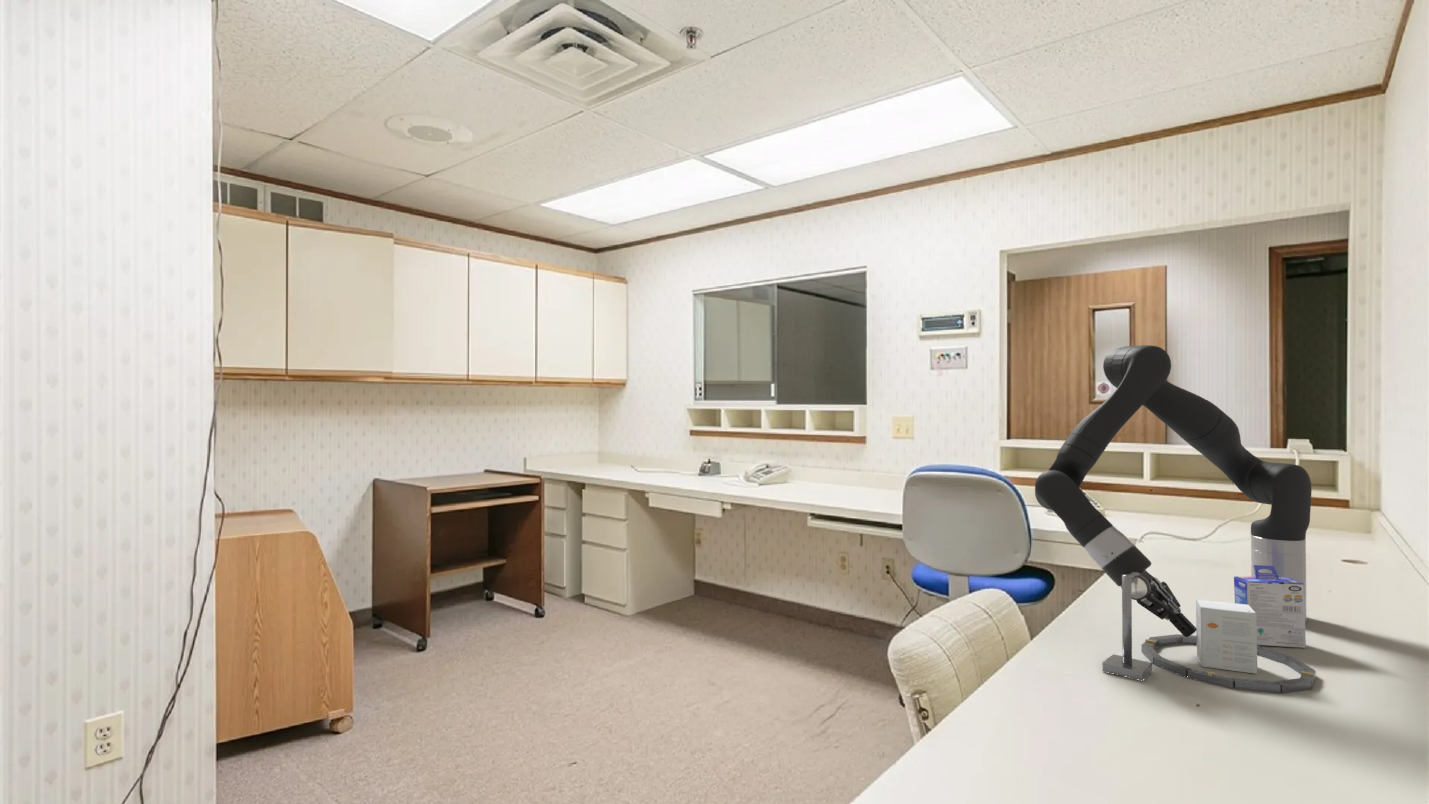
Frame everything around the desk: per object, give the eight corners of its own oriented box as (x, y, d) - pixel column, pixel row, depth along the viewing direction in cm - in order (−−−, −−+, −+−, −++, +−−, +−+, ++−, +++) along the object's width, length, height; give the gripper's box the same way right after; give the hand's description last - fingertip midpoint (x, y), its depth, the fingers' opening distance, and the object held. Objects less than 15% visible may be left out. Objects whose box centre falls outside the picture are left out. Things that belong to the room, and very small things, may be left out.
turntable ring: (1162, 632, 139) (1162, 625, 139) (1321, 664, 122) (1321, 655, 122) (1127, 664, 122) (1127, 655, 122) (1306, 705, 105) (1306, 695, 105)
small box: (1250, 664, 122) (1250, 604, 122) (1258, 675, 117) (1257, 612, 117) (1195, 656, 125) (1195, 598, 126) (1200, 666, 121) (1200, 606, 121)
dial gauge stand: (1118, 658, 125) (1117, 566, 125) (1156, 667, 120) (1155, 572, 121) (1102, 671, 118) (1101, 575, 119) (1142, 681, 114) (1141, 581, 114)
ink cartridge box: (1290, 639, 135) (1289, 565, 135) (1308, 649, 129) (1307, 571, 129) (1232, 636, 137) (1232, 563, 137) (1248, 645, 131) (1247, 569, 131)
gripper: (1121, 549, 128) (1201, 631, 119) (1141, 539, 137) (1217, 614, 128) (1090, 572, 131) (1165, 654, 122) (1111, 561, 141) (1183, 636, 132)
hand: (1191, 633), depth 125 cm, fingers closed
